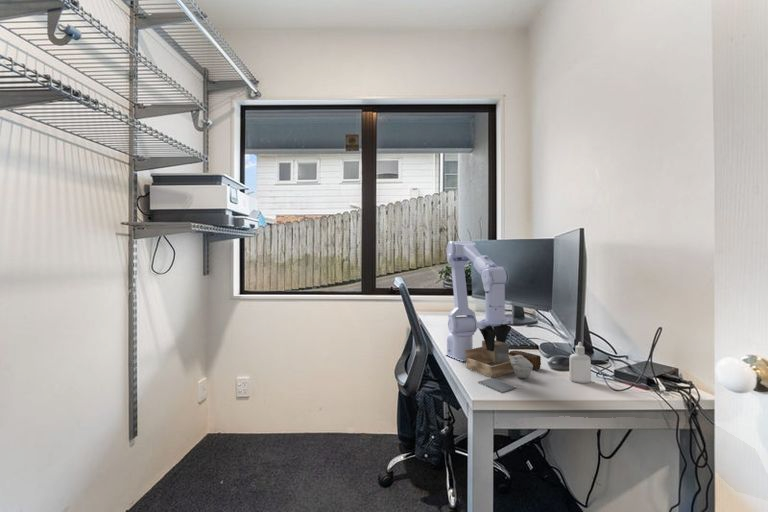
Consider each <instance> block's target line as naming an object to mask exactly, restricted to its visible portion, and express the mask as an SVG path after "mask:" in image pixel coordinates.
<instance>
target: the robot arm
mask: <svg viewBox="0 0 768 512" xmlns="http://www.w3.org/2000/svg"><path fill="white" fill-rule="evenodd" d="M446 260H447V263H448V264H449V265H450V267H451V268H450V269H451V279H452V290H453V291H452V292H453V300H454V308H453V309H452V310H451V311H450V312H449V313H448V320H447V327H448V330H449V332H450V333H448V334H447V338H446V353H445V354H446V355H448V356H450V357H449V358H451V357H452V359H454V358H455V359H454V360H456V359H457V360H456V361H459V360H460V361H459V362H463V361H464V362H466V350H469V349H474V348H473V345H474V344H473V341H474V339H473V337H474V335H475V333H476V332H477V330H479V331H480V334H481V335H482V338H483V340H485V344H486V348H487V350H489V351H494V342H495V340H496V341H500V342H504V343H506V341H507V338H508V335H509V334H510V331H511V330H512V325H514V318H513V317H509V316H507V317H506V315H505V314H506V303H505V301H506V299H505V298H506V296H505V295H506V289H505V288H506V285H507V284H508V283H509V278H510V275H509V271H508V269H507V268H506V266H498V265H497V264H496V263H495V262H494V261H492V260H491V258H490V256H489V255H485V254H484V255H482V254H481V253H480V252H479V251H478V247H477V243H475V241H474V240H470V241H466V240H465V241H462V240H461V241H459V240H458V241H455V240H450V241H448V243H447V245H446ZM471 262H473V268H474V269H475V270H476V271H477V272H478V274H479V275H480V276H481V282H482V285H483V290H484V291H485V295H484V296H485V301H484V303H485V319H481V320H479V321H477V317H476V314H475V313H476V312H475V311H474V310H472V309H470V307H469V300H468V290H467V282H466V281H467V279H466V271H465V266H466V265H468V264H470V263H471ZM484 291H483V292H484ZM446 355H445V356H446ZM448 356H447V357H448ZM464 362H463V363H464Z"/></svg>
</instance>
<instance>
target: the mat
mask: <svg viewBox="0 0 768 512" xmlns="http://www.w3.org/2000/svg"><path fill="white" fill-rule="evenodd" d="M478 382H479V383H478V384H480V383H481V385H483V386H485V385H486V386H485V387H487V386H488V388H490V389H493V390H494V391H497V392H498V393H499V392H500V393H501V394H503V393H507V392H510V391H512V390H516V389H517V387H516V386H514V385H511V384H508V383H505V382H504V381H501V380H499V379H495V377H493V378H490V377H488V378H487V379H483V380H480V381H479V380H478Z"/></svg>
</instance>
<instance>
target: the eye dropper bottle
mask: <svg viewBox="0 0 768 512" xmlns="http://www.w3.org/2000/svg"><path fill="white" fill-rule="evenodd" d="M574 350H575V353H572V354H570V355H569V361H568V362H569V365H568V366H569V367H568V370H569V371H568V372H569V375H568V376H569V380H570V381H571V382H573V383H578V384H589V383H591V381H592V371H591V370H592V369H591V367H592V363H591V357H590V356H589V355H587V354H585V346H583V343H582V342H581V341H578V344H577V345H575V349H574Z"/></svg>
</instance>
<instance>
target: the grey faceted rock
mask: <svg viewBox="0 0 768 512" xmlns="http://www.w3.org/2000/svg"><path fill="white" fill-rule="evenodd" d="M510 361H511V365H512V367H513V368H514V372H513V373H515V375H516V376H517V377H518V378H519V379H527V378H528V377H530V376H531V374H532V371H533V370H532V369H533V365H532V363H531V362H530V361H529V360H527V359H526V358H524V356H522V355H515V356H513V357H511V358H510Z"/></svg>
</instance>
